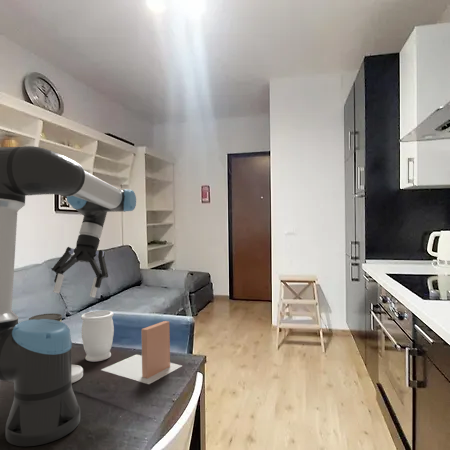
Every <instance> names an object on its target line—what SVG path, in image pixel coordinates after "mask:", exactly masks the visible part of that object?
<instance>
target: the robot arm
mask: <svg viewBox="0 0 450 450" xmlns="http://www.w3.org/2000/svg"><path fill="white" fill-rule="evenodd" d="M36 195H37V196H39V195H41V196H42V195H58V196H60V197H61V196H62V197H66V200H67V203H68V204H69V205H70V206H71V208H73V209H74V210H76V211H77V212H78V213H79V214H81V215H82V216H83V219H82V222H81V226H80V229H79V234H78V237H77V240H76V245H75V248H73V247H70V246H68V247H66V248H65V252H64V253H63V254H62V256H61V257H60V258H59V259H58V261H57V262H56V263H55V265H53V267H52V268H51V271H53V272H55V277H54V280H53V281H54V283H55V284H54V287H53V290H52V292H53V293H56V294H60V292H61V289H62V286H63V282H64V278H65V272H67V271H68V270H69V269H70V268H71V267H72V266H74V265H75V264H76V263H78V262H81V263H84V262H85V263H89V264H90V266H91V268H92V270H93V272H94V274H95V277H94V278H93V281H92V285H91V289H90V292H89V297H90V298H94V299H95V298H96V295H97V291H98V289H99V288H101V285H102V280H103V279H105V278H107V279H108V277H109V273H108V268H107V264H106V260H105V257H106V256H105V254H106V253H105V251H104V250H101V249H100V250H98V249H99V246H100V245H99V244H100V240H101V236H102V233H103V229H104V224H105V221H106V218H107V215H108V212H109V213H110V212H111V213H112V212H124V213H126V212H133V211H134V210H135V209H136V206H137V196H136V193H135V191H134V190H132V189H127V188H125V189H120V188H118V187H116V186H114V185H112V184H110V183H108V182H106V181H104V180H102V179H101V178H99V177H97V176H95V175H93V174H92V173H89V172H88V171H86V170H85V169H84V167H83V166H82V165H81V164H80V163H79V162H77V161H76V160H74V159H72V158H70V157H67V156H65V155H64V154H60V153H58V152H55V151H54V150H53V151H52V150H50V149H47V148H43V147H40V146H33V145H31V146H30V145H29V146H28V145H25V146H9V147H8V146H6V147H5V146H4V147H3V146H2V147H0V382H13V395H14V396H13V402H12V404H11V408H10V411H9V414H8V417H7V419H6V423H5V428H4V429H5V439H6V442H8V443H9V444H11V445H13V446H17V447H35V446H36V447H37V446H40V445H41V446H42V445H45V444H49V443H53V442H55V441H57V440H59V439H62V438H63V437H65V436H67V435H68V434H70V433H72V432H73V431H74V430H75V429H76V428H77V427H78V426H79V424H80V423H81V407H80V405H79V402H78V400H77V397H76V395H75V392H74V390H73V386H72V384H73V383H72V380H71V378H72V376H71V365H72V347H73V343H72V337H71V335H72V334H71V329H70V328H69V327H68V325H67V324H66V323H64V322H60V321H57V320H51V319H40V320H36V319H33V320H29V319H28V320H23V321H20V322H19V316H18V315H17V314H16V313H15V312H14V311H13V310H12V309H13V308H12V307H13V293H14V292H13V291H14V290H13V289H14V275H15V259H16V244H17V243H16V241H17V227H18V224H17V223H18V212H19V210H21V209H23V207H25V205H26V196H36ZM95 257H97V258H98V259H97V260H98V262H99V266H98V264H97V262H96V259H95ZM99 267H100V268H99Z"/></svg>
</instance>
